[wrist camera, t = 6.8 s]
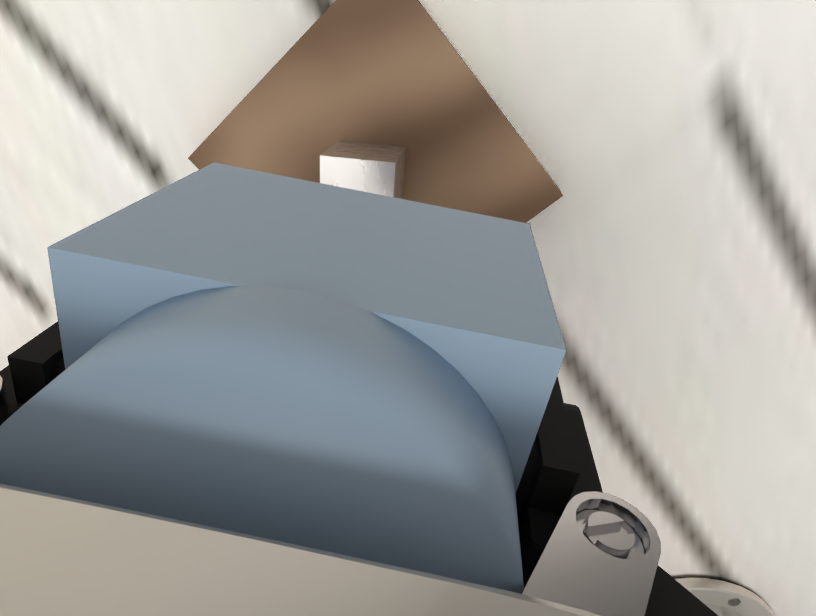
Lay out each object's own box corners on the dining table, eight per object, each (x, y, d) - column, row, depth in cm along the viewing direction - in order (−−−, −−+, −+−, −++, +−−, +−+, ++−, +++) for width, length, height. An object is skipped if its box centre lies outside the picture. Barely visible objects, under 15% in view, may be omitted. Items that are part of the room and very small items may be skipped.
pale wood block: (405, 146, 28) (395, 162, 24) (401, 211, 29) (391, 236, 26) (339, 139, 28) (319, 155, 25) (338, 204, 30) (319, 228, 26)
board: (559, 189, 29) (562, 195, 28) (367, 330, 34) (364, 340, 33) (384, -44, 25) (380, -48, 24) (198, 153, 30) (188, 158, 29)
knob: (535, 220, 11) (622, 480, 5) (465, 467, 14) (457, 830, 8) (209, 156, 11) (-146, 326, 5) (209, 416, 14) (-6, 731, 8)
